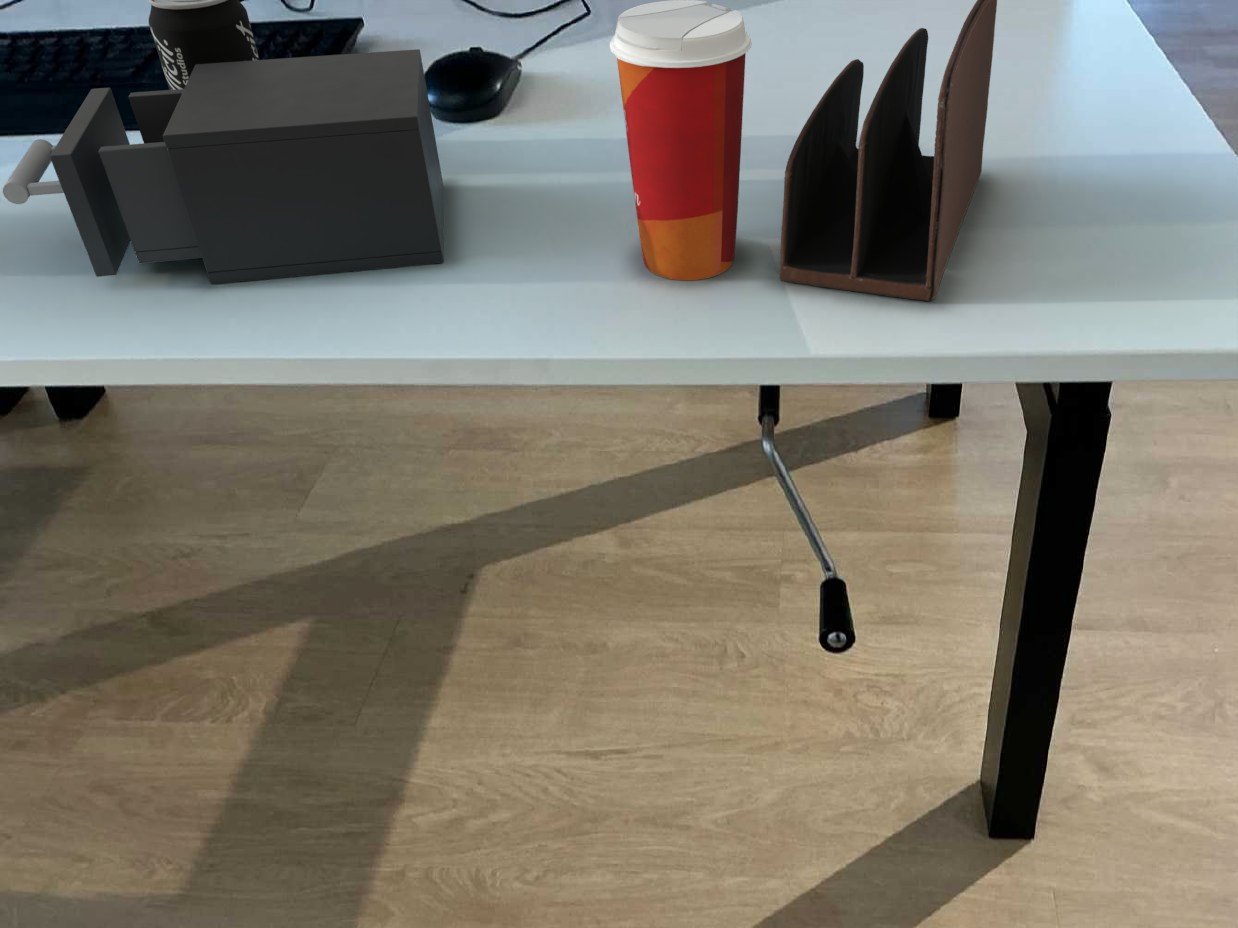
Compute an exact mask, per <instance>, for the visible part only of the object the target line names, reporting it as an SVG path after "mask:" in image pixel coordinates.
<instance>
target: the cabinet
mask: <svg viewBox="0 0 1238 928" xmlns="http://www.w3.org/2000/svg"><path fill="white" fill-rule="evenodd" d="M430 105H431V104H430V99H429V94H428V88H427V83H426V76H425V71H424V66H423V60H422V54H421V49H419V48H417V49H416V48H415V49H403V50H389V51H388V50H387V51H373V52H371V51H370V52H360V53H359V52H358V53H345V54H344V53H343V54H342V53H341V54H327V55H316V56H315V55H314V56H300V57H285V58H283V57H282V58H271V59H270V58H269V59H268V58H267V59H259V60H254V61H239V62H224V63H209V64H196V65H195V67H194V69H193V71H192V73H191V76H190V78H189V80H188V82H187V84H186V86H185V89H184V91H183V93H182V95H181V97H180V99H179V102H178V104H177V106H176V108H175V110H174V112H173V115H172V117H171V119H170V121H169V123H168V125H167V128H166V130H165V132H164V134H163V139H164V142H165V145H166V148H167V151H168V154H169V157H170V160H171V163H172V166H173V169H174V172H175V175H176V178H177V182H178V185H179V188H180V191H181V194H182V197H183V200H184V203H185V206H186V209H187V212H188V215H189V219H190V222H191V225H192V228H193V231H194V234H195V237H196V240H197V243H198V246H199V249H200V253H201V256H202V258H201V260H202V261H203V265H204V268H205V271H206V272H207V273H206V274H207V277H208V281H209V283H210V285H217V284H227V283H239V282H249V281H260V280H273V279H282V278H294V277H304V276H315V275H316V276H317V275H325V274H337V273H347V272H358V271H359V272H360V271H369V270H380V269H381V270H382V269H391V268H402V267H412V266H413V267H414V266H422V265H423V266H425V265H433V264H435V265H436V264H443V263H444V262H445V261H444V260H445V259H444V258H445V257H444V255H445V254H444V253H445V252H444V249H445V248H444V246H445V245H444V243H445V241H444V240H445V239H444V238H445V237H444V180H443V175H442V168H441V163H440V158H439V152H438V146H437V140H436V133H435V128H434V123H433V117H432V111H431V106H430Z"/></svg>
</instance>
